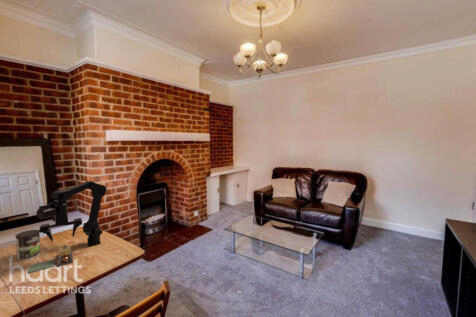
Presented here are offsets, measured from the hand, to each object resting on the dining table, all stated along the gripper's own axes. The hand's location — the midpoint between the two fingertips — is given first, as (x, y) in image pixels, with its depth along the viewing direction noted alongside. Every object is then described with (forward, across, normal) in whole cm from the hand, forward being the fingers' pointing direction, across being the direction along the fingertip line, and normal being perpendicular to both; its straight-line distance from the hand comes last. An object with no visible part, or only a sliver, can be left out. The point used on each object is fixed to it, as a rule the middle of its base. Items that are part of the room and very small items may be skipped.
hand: (62, 239), depth 124 cm
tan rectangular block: (+8, -1, +1) cm, 8 cm away
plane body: (+12, -1, 0) cm, 12 cm away
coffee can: (+12, +16, -17) cm, 26 cm away
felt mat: (+12, +9, +2) cm, 15 cm away
